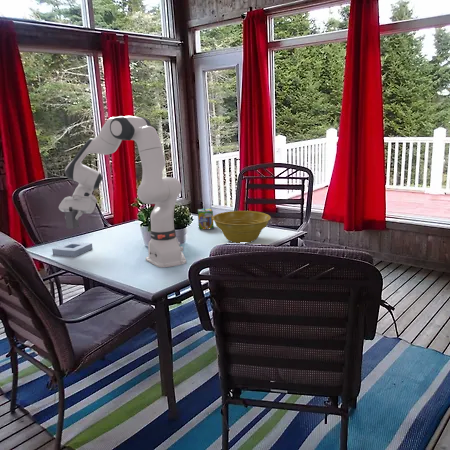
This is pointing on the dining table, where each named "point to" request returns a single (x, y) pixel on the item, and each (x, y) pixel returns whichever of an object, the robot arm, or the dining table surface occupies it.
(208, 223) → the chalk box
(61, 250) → the socket
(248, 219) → the planter bowl
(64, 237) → the dining table surface
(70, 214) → the plug
